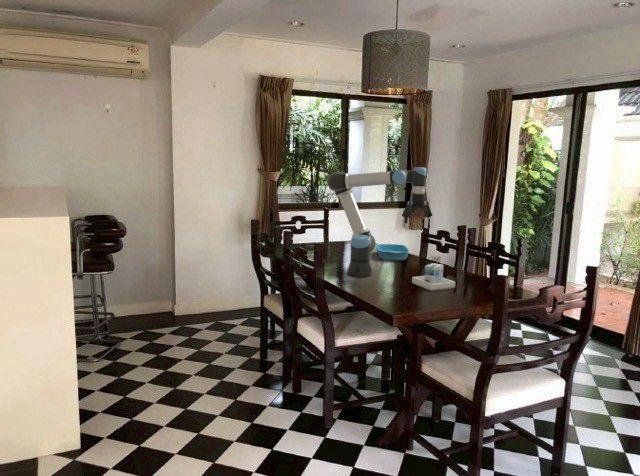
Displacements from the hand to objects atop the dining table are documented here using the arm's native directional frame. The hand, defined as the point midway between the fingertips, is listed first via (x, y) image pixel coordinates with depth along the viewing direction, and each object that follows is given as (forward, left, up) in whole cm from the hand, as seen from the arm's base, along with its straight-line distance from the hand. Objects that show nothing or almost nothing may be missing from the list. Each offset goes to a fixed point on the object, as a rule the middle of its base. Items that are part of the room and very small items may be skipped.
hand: (416, 228), depth 306 cm
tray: (-6, -27, -29) cm, 40 cm away
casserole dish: (+17, +51, -29) cm, 61 cm away
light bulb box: (-6, -27, -28) cm, 39 cm away
